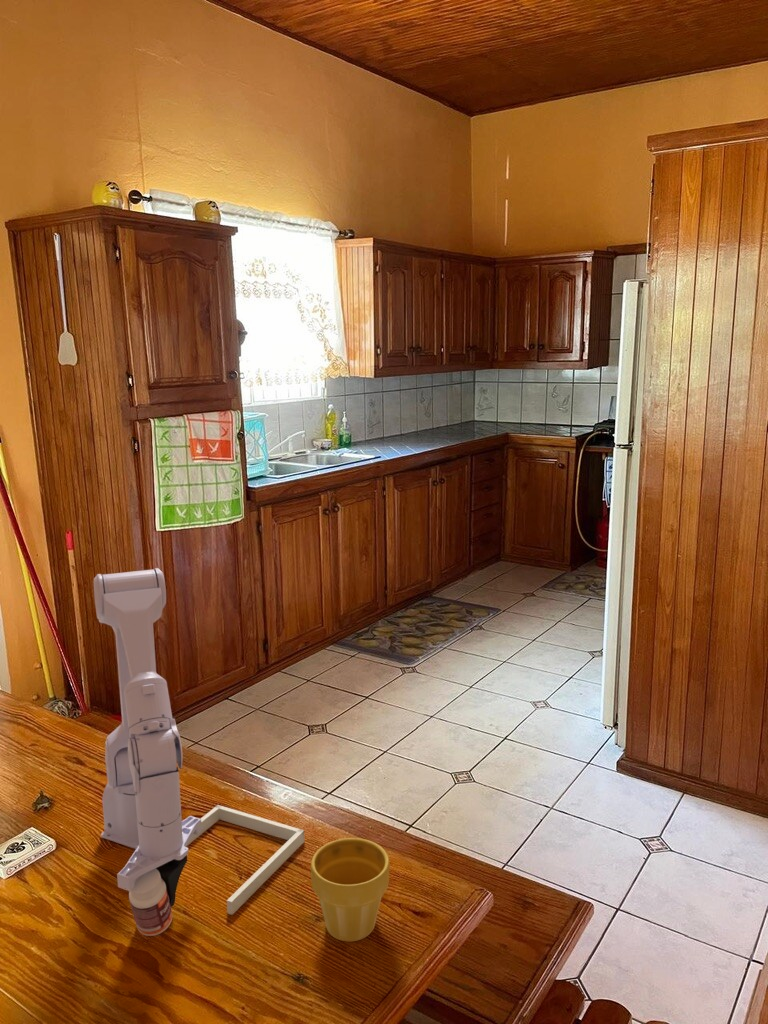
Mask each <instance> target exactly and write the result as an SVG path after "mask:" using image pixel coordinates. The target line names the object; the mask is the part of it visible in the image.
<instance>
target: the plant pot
mask: <svg viewBox="0 0 768 1024" xmlns="http://www.w3.org/2000/svg"><path fill="white" fill-rule="evenodd" d="M310 879H311V887H312V891H313V892H314V894H315V895H316V897H317V898H318V900H319V904H320V908H321V912H322V916H323V920H324V924H325V927H326V930H327V932H328V934H330V936H332V937H333V938H335V939H336V940H339V941H341V942H357V941H360V940H363V939H365V938H366V937H368V936H369V935H370V934H371V933H372V932H373V931H374V929H375V926H376V924H377V923H376V922H377V919H378V918H377V917H378V914H379V913H378V912H379V909H380V906H381V901H382V897H383V895H384V894H385V893H386V891H387V889H388V886H389V883H390V881H389V880H390V857H389V855H388V853H387V852H386V850H385V849H384V848H383V847H382V846H381V845H379V844H377V843H376V842H374V841H371V840H369V839H365V838H360V837H344V838H337V839H336V840H332V841H329V842H327V843H325V844H324V845H322V846H320V847H319V848H318V849H317V850H316V851H315V853H314V854H313V856H312V858H311V863H310Z"/></svg>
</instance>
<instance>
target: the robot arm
mask: <svg viewBox="0 0 768 1024" xmlns="http://www.w3.org/2000/svg"><path fill="white" fill-rule="evenodd" d="M166 587H167V586H166V581H165V575H164V572H163V571H162V570H160V568H158V567H155V568H154V569H144V570H135V571H126V572H117V573H106V574H105V573H104V574H102V573H97V574H96V576H95V577H94V578H93V595H94V596H93V597H94V605H95V613H96V614H95V615H96V619H98V622H99V624H105V625H107V626H110V627H111V628H112V630H113V633H114V636H115V648H116V659H117V660H116V661H117V662H116V663H117V673H118V687H119V699H120V712H121V723H120V724H119V726H117V727H116V728H114V730H113V731H112V732H111V733H109V734H108V735H107V737H106V740H105V741H104V743H105V745H104V746H105V752H104V758H105V769H106V779H107V784H106V785H105V787H104V790H103V793H102V799H101V800H102V813H103V815H102V816H103V824H104V826H103V827H104V831H103V832H102V833H100V838H102V839H104V840H108V841H112V842H115V843H117V844H120V845H123V846H125V847H129V848H131V849H134V852H133V853H132V855H131V856H130V858H129V859H128V861H127V863H126V864H125V866H124V867H123V868H122V869H121V870H120V871H119V872H118V873H117V874H116V878H117V879H116V880H117V887H118V888H120V889H123V890H125V891H128V892H130V890H132V889H133V888H134V887H135V882H136V881H137V880H138V879H139V878H141V877H142V876H143V875H144V874H145V873H147V872H149V871H151V870H153V869H155V868H156V869H157V870H158V871H159V873H160V876H161V879H163V881H164V882H165V884H166V888H167V893H168V897H169V901H170V906H171V908H172V907H174V905H175V903H176V893H177V888H178V884H179V879H180V878H181V875H182V872H183V870H184V867H185V866H186V864H187V862H188V855H189V851H190V850H189V847H188V845H187V844H188V842H189V840H190V838H191V836H192V835H193V834H198V833H200V832H201V831H202V828H201V818H199V817H195V816H192V815H189V816H188V817H186V818H185V819H183V818H182V805H181V804H182V803H181V801H182V800H181V788H180V785H181V784H180V770H182V769H183V761H184V760H183V759H184V758H183V756H184V755H183V745H182V741H181V735H180V732H179V730H178V726H177V723H176V718H173V713H172V708H171V701H170V694H169V689H168V682H167V680H166V679H165V678H164V677H162V676H161V675H160V674H158V673H157V663H156V662H157V661H156V649H155V633H154V623H155V622H156V621H158V620H159V619H160V618H161V617H162V615H163V614H162V613H163V609H164V608H165V606H166V604H167V589H166ZM186 845H187V846H186Z"/></svg>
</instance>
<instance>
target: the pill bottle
mask: <svg viewBox="0 0 768 1024" xmlns="http://www.w3.org/2000/svg"><path fill="white" fill-rule="evenodd" d="M128 900H129V904H130V907H131V910H132V915H133V917H134V923H135V925H136V928H137V930H138V932H139V933H140V934H141V935H143V936H146V937H154V936H158V935H161V934H162V933H163V932H165V931H166V930H167V929H168V928H169V926H170V924H171V923H172V920H173V911H172V907H171V906H170V901H169V897H168V893H167V888H166V884H165V882H164V881H163V879H161V876H160V873H159V871H158V870H157V869H156V868H155V869H153V870H151V871H149V872H147V873H145V874H144V875H143V876H142V877H141V878H139V879H138V880H137V881H136V882H135V887H134V888H133V889H132V890H130V891H128Z"/></svg>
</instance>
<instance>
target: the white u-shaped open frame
mask: <svg viewBox="0 0 768 1024" xmlns="http://www.w3.org/2000/svg"><path fill="white" fill-rule="evenodd" d="M200 819H201V828H202V831H201V832H200V833H198V834H193V835H192V836H191V838H190V840H189V842H188V844H187V845H186V847H188V846H189V845H190V844H191V843H193V842H194V841H195V840H196V839H197V838H198V837H200V836H202V834H204V833H206V831H207V830H209V829H210V828H211V827H212V826H213V825H214V824H216V823H217V822H218V821H220V820H221V821H224V822H226V823H229V824H234V825H236V826H240V827H243V828H246V829H249V830H252V831H256V832H259V833H263V834H265V835H269V836H273V837H276V838H279V839H283V840H285V841H286V842H285V843H284V844H282V846H281V847H280V848H279V849H278V850H276V851H275V853H274V854H273V855H272V856H271V857H270V858H269V859H268V860H267V861H266V862H264V863H263V864H262V865H261V866H260V867H259V868H258V869H257V870H256V871H255V872H254V873H253V874H252V875H251V876H250V877H249V878H248V879H247V880H246V881H245V882H244V883H243V884H242V885H241V886H239V888H237V890H236V891H235V892H234V893H232V895H231V896H230V897H229V898H227V900H226V909H227V910H226V913H227V914H228V915H231V916H233V915H234V914H235V913H236V912H237V911H238V910H239V909H240V908H241V907H242V906H243V905H244V904H245V903H246V902H247V901H248V900H249V898H251V896H253V895H254V894H255V893H256V891H258V890H259V888H261V886H262V885H263V884H265V882H267V880H269V878H270V877H271V876H273V875H274V874H275V872H276V871H277V870H278V869H279V868H280V867H281V866H282V865H283V864H284V863H286V862H287V860H288V859H289V858H290V857H291V856H293V854H294V853H295V852H296V851H297V850H298V849H299V848H300V847H302V845H303V844H304V843H305V830H304V829H301V828H298V827H294V826H291V825H288V824H285V823H284V824H283V823H281V822H278V821H275V820H270V819H266V818H263V817H260V816H257V815H254V814H250V813H248V812H244V811H240V810H237V809H233V808H230V807H226V806H223V805H219V804H217V805H216V806H214V807H213V808H212V809H210V811H208V812H207V813H205V814H204V815H203V816H202V817H201V818H200Z"/></svg>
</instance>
